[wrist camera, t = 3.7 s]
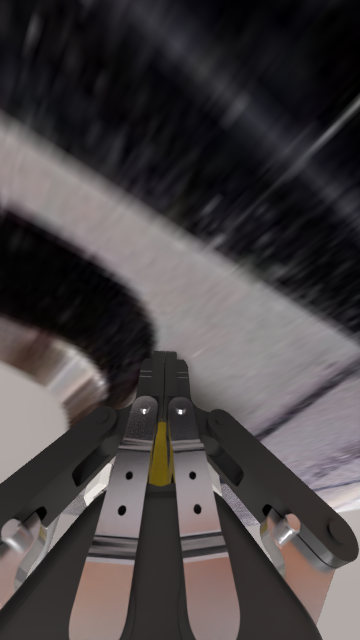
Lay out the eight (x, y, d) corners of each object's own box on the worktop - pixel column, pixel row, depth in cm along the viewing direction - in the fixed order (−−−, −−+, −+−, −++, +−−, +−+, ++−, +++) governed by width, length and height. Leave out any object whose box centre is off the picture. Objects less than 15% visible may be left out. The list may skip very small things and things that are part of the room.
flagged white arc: (224, 462, 25) (288, 782, 12) (206, 506, 32) (233, 736, 19) (53, 461, 24) (-103, 831, 10) (74, 508, 31) (0, 760, 17)
